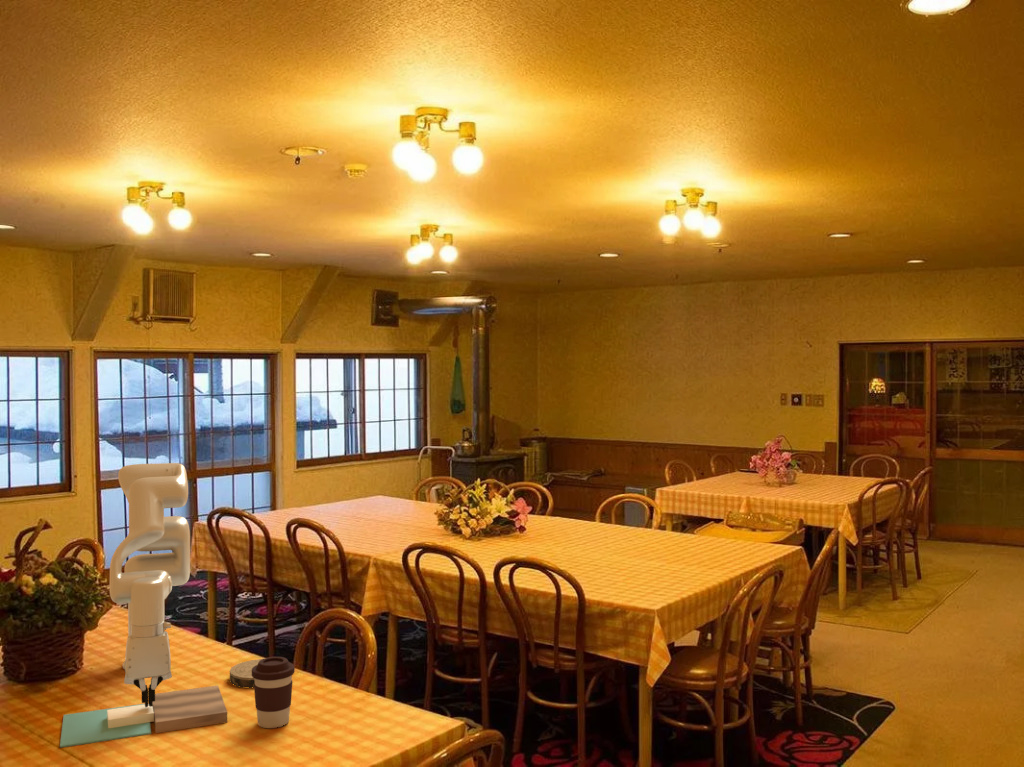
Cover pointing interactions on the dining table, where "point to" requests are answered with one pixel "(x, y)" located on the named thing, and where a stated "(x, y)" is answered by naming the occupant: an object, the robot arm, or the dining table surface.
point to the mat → (96, 728)
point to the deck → (188, 709)
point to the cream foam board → (129, 715)
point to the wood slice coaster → (243, 674)
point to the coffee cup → (273, 691)
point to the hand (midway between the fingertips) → (148, 704)
